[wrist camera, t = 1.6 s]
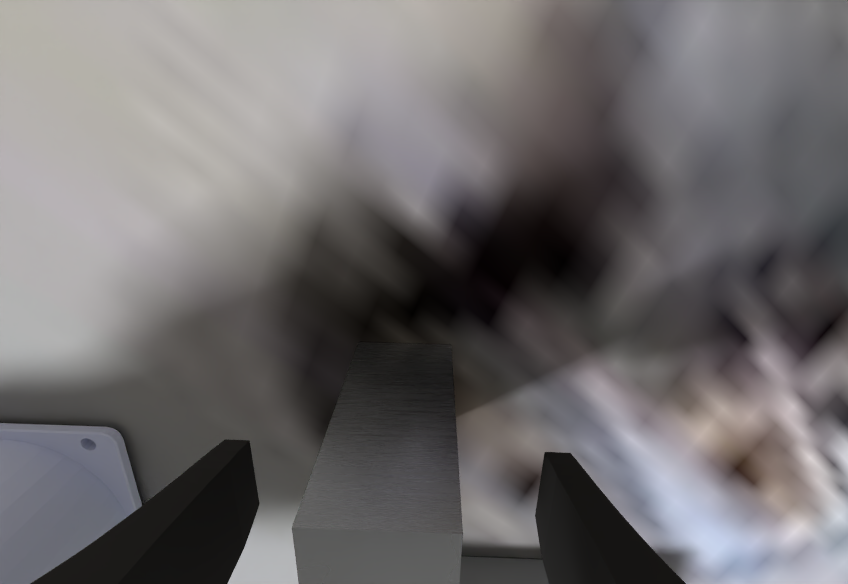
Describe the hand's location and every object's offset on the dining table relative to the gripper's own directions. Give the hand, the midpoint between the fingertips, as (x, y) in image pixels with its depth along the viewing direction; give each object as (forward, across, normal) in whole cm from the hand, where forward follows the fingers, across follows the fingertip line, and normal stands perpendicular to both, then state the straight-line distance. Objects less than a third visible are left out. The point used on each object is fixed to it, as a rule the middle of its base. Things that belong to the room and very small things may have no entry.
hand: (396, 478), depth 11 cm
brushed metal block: (+4, 0, 0) cm, 4 cm away
